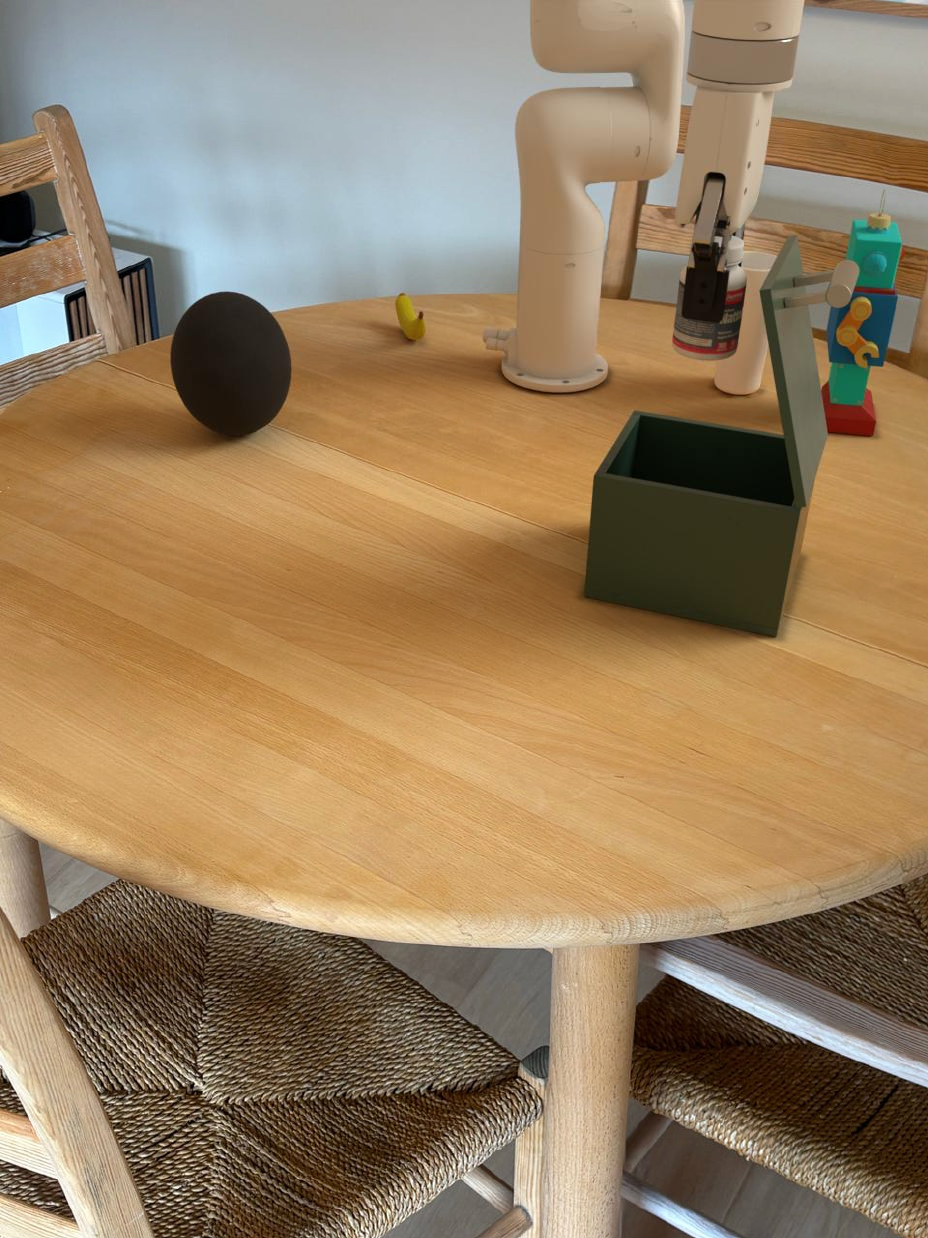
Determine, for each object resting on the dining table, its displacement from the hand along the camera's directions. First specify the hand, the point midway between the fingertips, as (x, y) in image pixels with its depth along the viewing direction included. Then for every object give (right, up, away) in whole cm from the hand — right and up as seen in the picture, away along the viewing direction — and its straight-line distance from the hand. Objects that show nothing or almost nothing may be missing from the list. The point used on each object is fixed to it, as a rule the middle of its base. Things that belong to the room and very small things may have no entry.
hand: (709, 304), depth 99 cm
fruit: (-26, +10, +58) cm, 65 cm away
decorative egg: (-44, -5, +35) cm, 56 cm away
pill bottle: (0, -3, +2) cm, 4 cm away
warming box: (+1, -21, +12) cm, 24 cm away
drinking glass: (+12, +2, +47) cm, 48 cm away
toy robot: (+23, -3, +40) cm, 46 cm away
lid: (+6, -6, -1) cm, 8 cm away
